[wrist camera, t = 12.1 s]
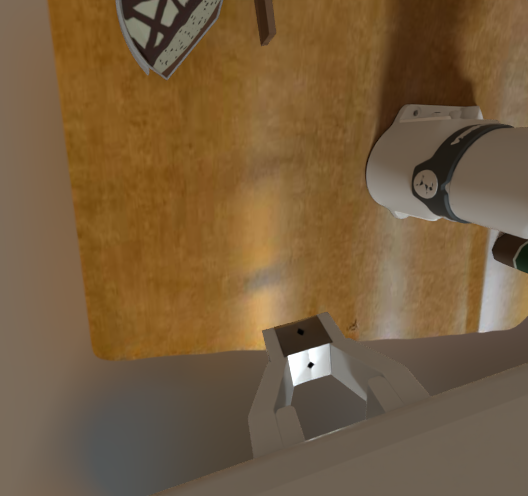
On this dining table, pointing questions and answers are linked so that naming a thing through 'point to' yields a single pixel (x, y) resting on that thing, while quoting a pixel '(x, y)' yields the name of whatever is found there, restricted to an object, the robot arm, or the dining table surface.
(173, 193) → the dining table surface
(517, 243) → the beer bottle
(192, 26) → the food container
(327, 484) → the robot arm
